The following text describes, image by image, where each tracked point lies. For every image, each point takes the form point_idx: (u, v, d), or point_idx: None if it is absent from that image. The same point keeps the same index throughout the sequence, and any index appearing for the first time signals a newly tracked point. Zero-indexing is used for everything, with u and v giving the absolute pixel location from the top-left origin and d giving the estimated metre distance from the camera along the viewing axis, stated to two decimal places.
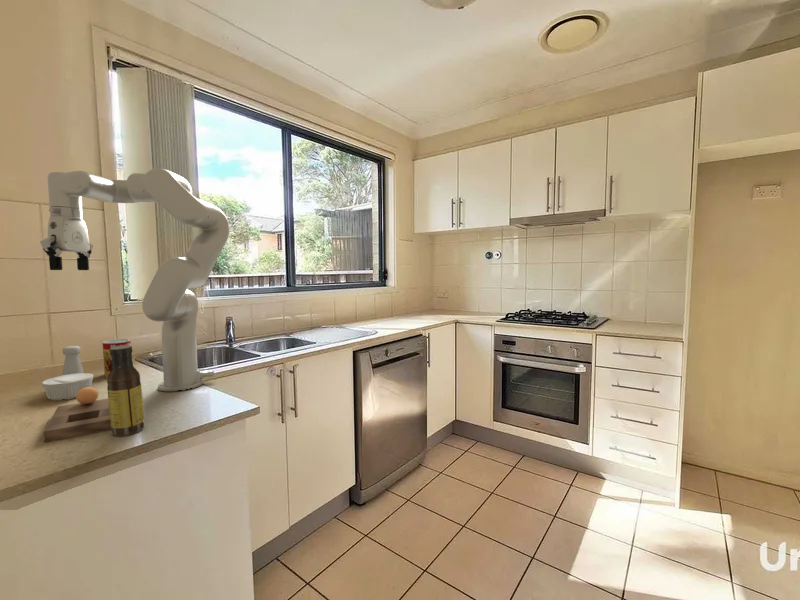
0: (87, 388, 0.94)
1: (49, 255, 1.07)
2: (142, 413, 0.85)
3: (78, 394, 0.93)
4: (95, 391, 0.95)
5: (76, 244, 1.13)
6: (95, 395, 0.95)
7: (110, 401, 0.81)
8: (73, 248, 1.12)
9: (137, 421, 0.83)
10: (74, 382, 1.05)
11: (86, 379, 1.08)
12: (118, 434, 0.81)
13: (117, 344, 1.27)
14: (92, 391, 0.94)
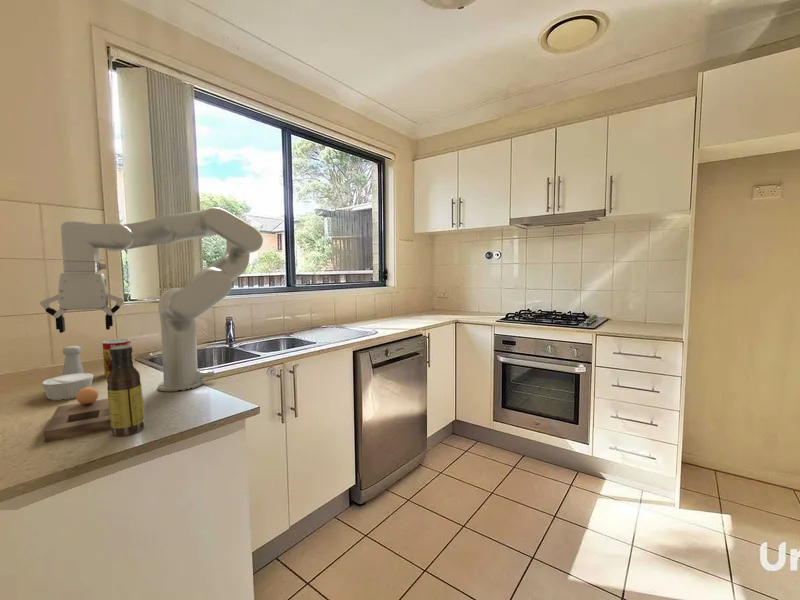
0: (87, 388, 0.94)
1: (112, 313, 1.03)
2: (142, 413, 0.85)
3: (78, 394, 0.93)
4: (95, 391, 0.95)
5: None
6: (95, 395, 0.95)
7: (110, 401, 0.81)
8: None
9: (137, 421, 0.83)
10: (74, 382, 1.05)
11: (86, 379, 1.08)
12: (118, 434, 0.81)
13: (117, 344, 1.27)
14: (92, 391, 0.94)
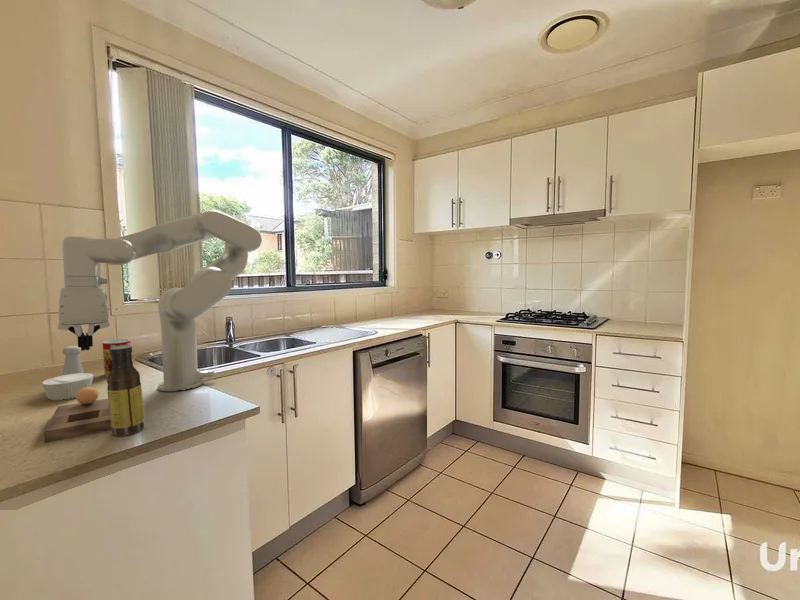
0: (87, 388, 0.94)
1: (92, 334, 1.00)
2: (142, 413, 0.85)
3: (78, 394, 0.93)
4: (95, 391, 0.95)
5: None
6: (95, 395, 0.95)
7: (110, 401, 0.81)
8: None
9: (137, 421, 0.83)
10: (74, 382, 1.05)
11: (86, 379, 1.08)
12: (118, 434, 0.81)
13: (117, 344, 1.27)
14: (92, 391, 0.94)
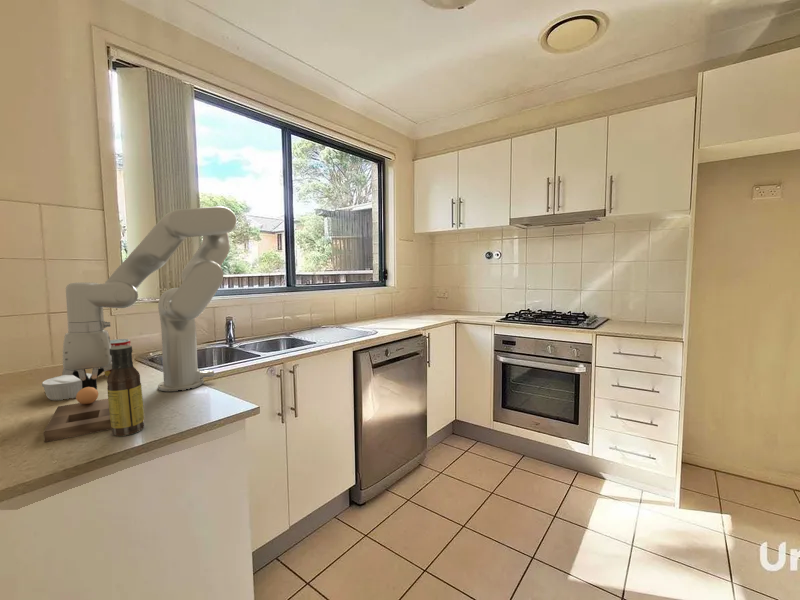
0: (87, 388, 0.94)
1: (96, 377, 1.01)
2: (142, 413, 0.85)
3: (78, 394, 0.93)
4: (95, 391, 0.95)
5: None
6: (95, 395, 0.95)
7: (110, 401, 0.81)
8: None
9: (137, 421, 0.83)
10: (74, 382, 1.05)
11: None
12: (118, 434, 0.81)
13: (117, 344, 1.27)
14: (92, 391, 0.94)
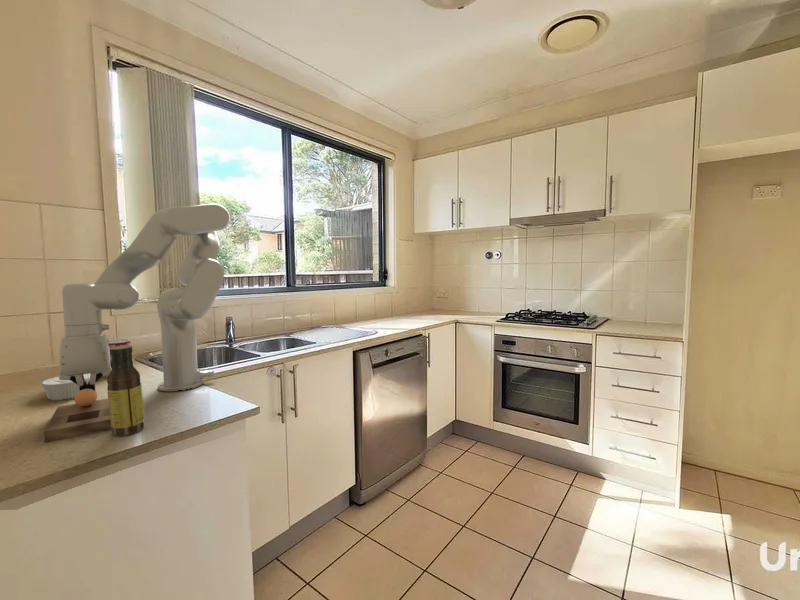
0: (85, 394, 0.92)
1: None
2: (142, 413, 0.85)
3: (76, 400, 0.91)
4: (93, 396, 0.93)
5: None
6: (94, 399, 0.93)
7: (110, 401, 0.81)
8: None
9: (137, 421, 0.83)
10: None
11: (86, 379, 1.08)
12: (118, 434, 0.81)
13: (117, 344, 1.27)
14: (90, 397, 0.92)
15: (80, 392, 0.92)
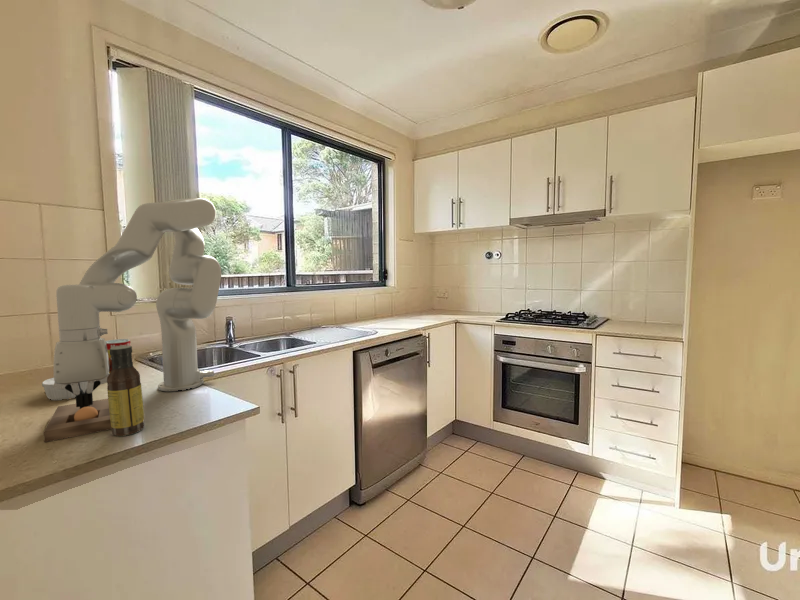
0: None
1: (92, 391, 0.90)
2: (142, 413, 0.85)
3: None
4: None
5: None
6: None
7: (110, 401, 0.81)
8: None
9: (137, 421, 0.83)
10: None
11: None
12: (118, 434, 0.81)
13: (117, 344, 1.27)
14: None
15: None
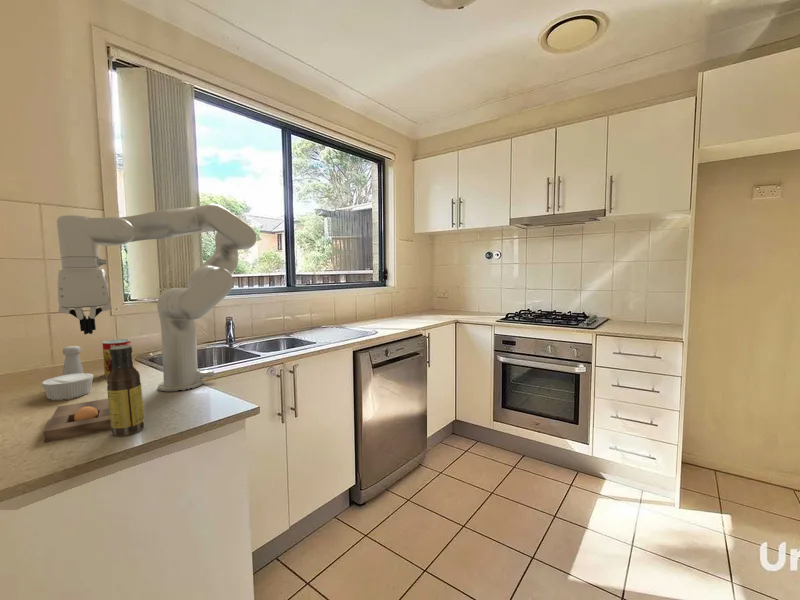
0: None
1: None
2: (142, 413, 0.85)
3: None
4: None
5: None
6: None
7: (110, 401, 0.81)
8: None
9: (137, 421, 0.83)
10: (74, 382, 1.05)
11: (86, 379, 1.08)
12: (118, 434, 0.81)
13: (117, 344, 1.27)
14: None
15: None
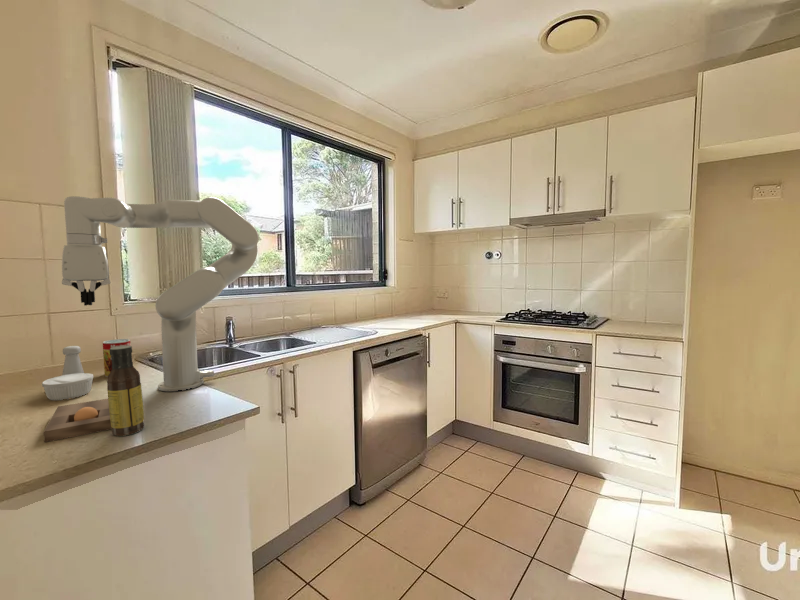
0: None
1: (94, 290, 1.06)
2: (142, 413, 0.85)
3: None
4: None
5: None
6: None
7: (110, 401, 0.81)
8: None
9: (137, 421, 0.83)
10: (74, 382, 1.05)
11: (86, 379, 1.08)
12: (118, 434, 0.81)
13: (117, 344, 1.27)
14: None
15: None
